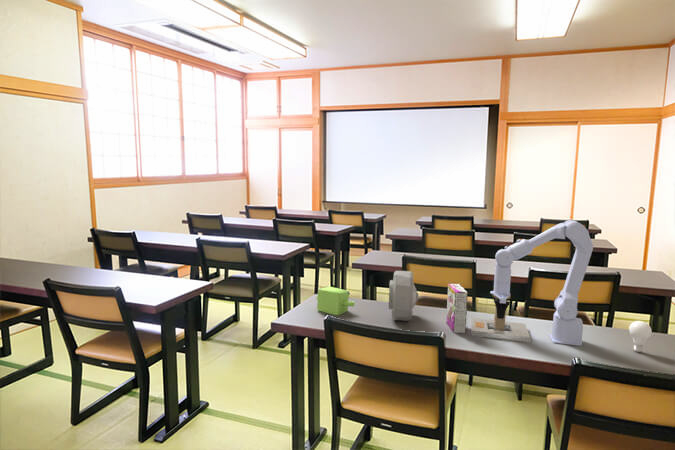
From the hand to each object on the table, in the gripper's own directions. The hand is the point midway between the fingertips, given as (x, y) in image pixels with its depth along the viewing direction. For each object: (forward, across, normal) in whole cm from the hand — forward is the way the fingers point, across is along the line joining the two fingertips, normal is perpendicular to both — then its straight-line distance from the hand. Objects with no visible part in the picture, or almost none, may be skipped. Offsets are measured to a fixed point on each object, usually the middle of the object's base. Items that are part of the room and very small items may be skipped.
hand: (499, 316), depth 164 cm
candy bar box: (+7, +1, -16) cm, 17 cm away
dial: (+7, -3, -37) cm, 38 cm away
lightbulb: (+7, +4, +45) cm, 46 cm away
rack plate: (+6, 0, 0) cm, 6 cm away
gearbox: (+7, -4, -66) cm, 67 cm away
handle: (+6, 0, 0) cm, 6 cm away
